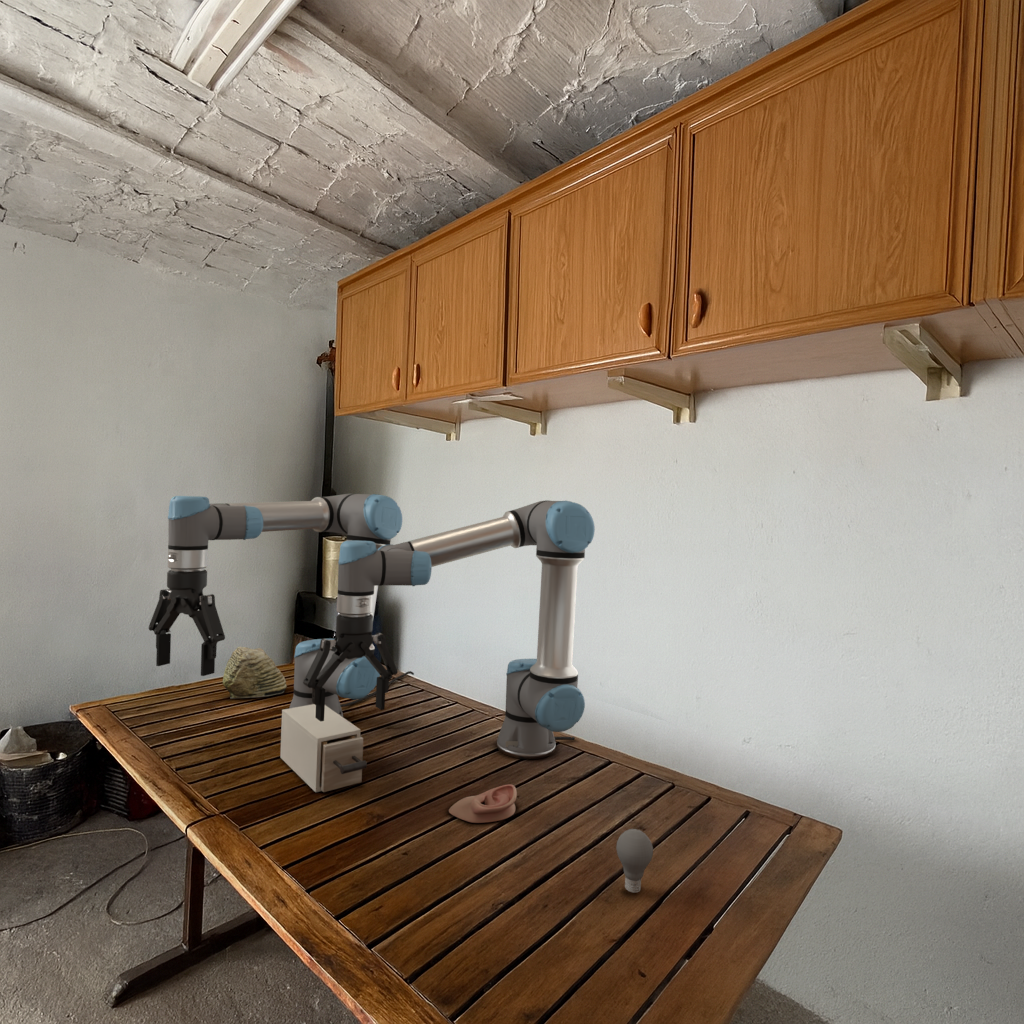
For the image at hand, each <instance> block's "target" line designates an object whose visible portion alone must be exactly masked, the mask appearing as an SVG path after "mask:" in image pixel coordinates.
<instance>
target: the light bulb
mask: <svg viewBox="0 0 1024 1024" xmlns="http://www.w3.org/2000/svg"><path fill="white" fill-rule="evenodd" d="M615 849H616V854H617V857H618V859H619V861H620V863H621V865H622V867H623V873H624V874H623V875H624V876H625V878H624V888H625V890H627V891H628V892H630V893H634V894H635V893H639V892H640V891H641V889H642V887H641V886H642V879H643V877H644V875H645V871H646V868H647V867H648V866H649V864H650V863H651V861H652V859H653V855H654V847H653V843H652V841H651V838H649V836H648V835H647V834H646V833H645V832H643V831H642V830H641V829H636V828H629V829H627V830H625V831H623V832H622V833H621V834H620V835H619V837H618V839H617V841H616V847H615Z"/></svg>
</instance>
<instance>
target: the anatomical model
mask: <svg viewBox="0 0 1024 1024" xmlns="http://www.w3.org/2000/svg"><path fill="white" fill-rule="evenodd" d="M517 797H518V793H517V788H516V786H515V785H514V784H510V783H509V784H503V785H500V786H497V787H493V788H491V789H488V790H486V791H483V792H482V793H479V794H477V795H471V796H470V795H469V796H466V797H463V798H461V799H459V800H458V801H456V802H455V803H453V804H452V806H450V807H449V809H448V813H449V814H450V815H452V816H453V817H455V818H457V819H459V820H462V821H465V822H468V823H471V824H472V823H473V824H483V823H484V824H485V823H492V822H497V821H503V820H506V819H508V818H511V817H512V816H514V815H515V813H516V804H515V802H516V800H517Z"/></svg>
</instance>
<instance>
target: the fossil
mask: <svg viewBox="0 0 1024 1024" xmlns="http://www.w3.org/2000/svg"><path fill="white" fill-rule="evenodd" d="M222 676H223V677H222V685H223V687H224V688H225V690H226V691H228V693H229V698H230V699H250V698H264V697H271V696H275V695H281V694H284V693H285V691H286V689H287V687H288V686H287V680H286V678H285V676H284V674H283V673H282V672H281V669H279V668H278V667H277V665H276V663H275V662H274V660H273V659H272V658H271V657H270V656H269V655H268V654H267V653H266V652H265V650H264V649H263V648H260V647H258V648H251V647H247V646H246V647H245V646H238V647H237V648H236V649H235V650H233V651H232V653H231V656H230V657H229V659H228V660H227V663H226V666H225V668H224V671H223V675H222Z"/></svg>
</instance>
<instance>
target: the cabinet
mask: <svg viewBox="0 0 1024 1024" xmlns="http://www.w3.org/2000/svg"><path fill="white" fill-rule="evenodd" d="M315 716H316V705H315V704H312V705H306V706H301V707H295V708H285V709H281V729H280V757H279V758H280V759H281V760H282V761H283V762H284V763H285V764H286V765H287V766H288V767H289V768H290V769H291V770H292V771H293V772H294V773H295V775H297V776H298V777H299V778H300V779H301V780H302V781H303V782H304V783H305V784H306V785H308V786H309V788H310V789H312V791H313V792H315V793H319V792H323V791H322V790H321V787H322V784H321V783H320V763H321V742H323V741H327V740H332V739H337V738H341V737H346V736H351V735H354V736H355V738H357V737H361V729H360V728H359V727H358V726H356V725H354V724H353V723H352V722H351V721H350V720H348V719H347V718H345V717H344V716H343V717H342V716H340V715H339V714H337V713H336V712H334V711H333V710H332V709H330V708H329V707H327V706H326V705H325V711H324V721H321V722H320V721H319V720H318V719H317V718H315Z"/></svg>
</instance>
